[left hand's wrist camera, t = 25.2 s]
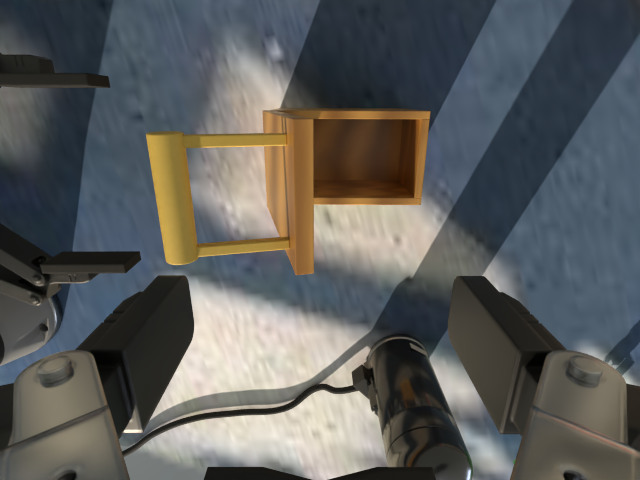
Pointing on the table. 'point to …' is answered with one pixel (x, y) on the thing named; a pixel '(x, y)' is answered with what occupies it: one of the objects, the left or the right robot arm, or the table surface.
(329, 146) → the chest
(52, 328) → the right robot arm
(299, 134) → the lid
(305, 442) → the table surface
